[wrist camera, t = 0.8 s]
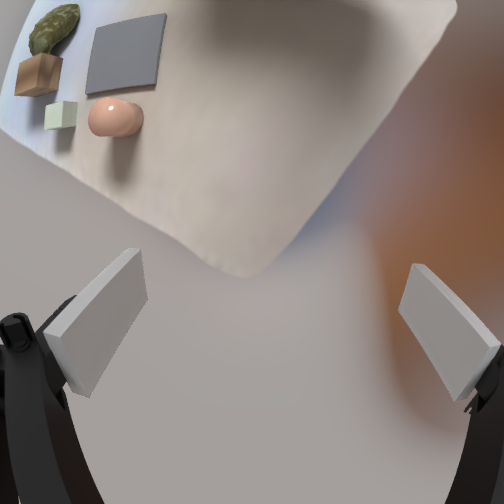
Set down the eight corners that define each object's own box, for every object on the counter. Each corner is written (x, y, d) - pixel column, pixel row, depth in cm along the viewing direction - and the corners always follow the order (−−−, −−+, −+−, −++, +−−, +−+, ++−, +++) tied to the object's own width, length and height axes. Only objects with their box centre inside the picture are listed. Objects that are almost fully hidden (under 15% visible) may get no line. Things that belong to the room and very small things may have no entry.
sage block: (60, 106, 32) (45, 105, 28) (78, 102, 32) (63, 100, 28) (59, 129, 33) (44, 130, 29) (76, 126, 33) (61, 126, 29)
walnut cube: (40, 67, 28) (19, 63, 23) (63, 58, 28) (42, 52, 23) (36, 96, 30) (14, 95, 25) (58, 89, 30) (36, 86, 25)
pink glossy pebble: (115, 105, 32) (89, 100, 26) (145, 101, 32) (122, 95, 26) (113, 137, 34) (87, 138, 28) (142, 135, 34) (119, 134, 28)
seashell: (80, -6, 21) (47, 18, 18) (93, 22, 28) (64, 49, 25) (42, 15, 22) (10, 43, 19) (55, 39, 29) (27, 69, 26)
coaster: (98, 29, 27) (96, 28, 26) (166, 15, 27) (165, 13, 26) (87, 94, 31) (84, 94, 30) (156, 84, 31) (154, 83, 30)
